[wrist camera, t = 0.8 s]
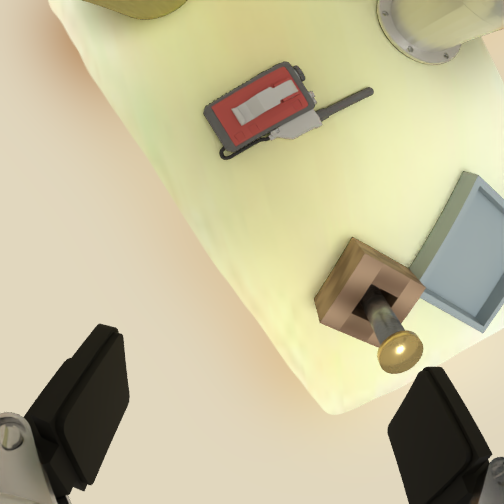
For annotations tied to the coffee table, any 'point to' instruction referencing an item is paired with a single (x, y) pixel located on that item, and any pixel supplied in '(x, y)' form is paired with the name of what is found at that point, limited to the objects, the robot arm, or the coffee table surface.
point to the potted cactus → (141, 7)
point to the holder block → (364, 290)
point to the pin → (390, 334)
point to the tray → (466, 255)
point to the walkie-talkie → (269, 109)
